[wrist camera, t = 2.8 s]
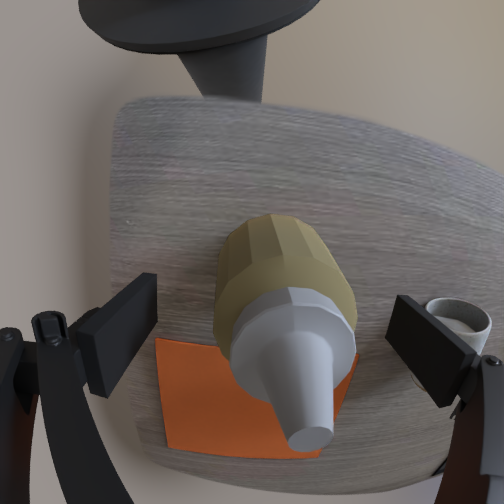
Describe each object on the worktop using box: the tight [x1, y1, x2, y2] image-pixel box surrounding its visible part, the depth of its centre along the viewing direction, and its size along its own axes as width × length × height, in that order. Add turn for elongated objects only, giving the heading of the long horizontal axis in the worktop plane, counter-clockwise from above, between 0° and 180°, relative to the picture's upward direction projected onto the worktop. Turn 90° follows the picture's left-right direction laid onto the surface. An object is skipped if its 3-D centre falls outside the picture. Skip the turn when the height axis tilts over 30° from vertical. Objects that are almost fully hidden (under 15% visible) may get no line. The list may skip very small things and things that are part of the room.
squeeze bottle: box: [213, 214, 358, 452], centre depth 15 cm, size 8×8×18 cm
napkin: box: [155, 338, 359, 459], centre depth 27 cm, size 18×20×1 cm
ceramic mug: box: [411, 298, 491, 392], centre depth 21 cm, size 11×8×8 cm
